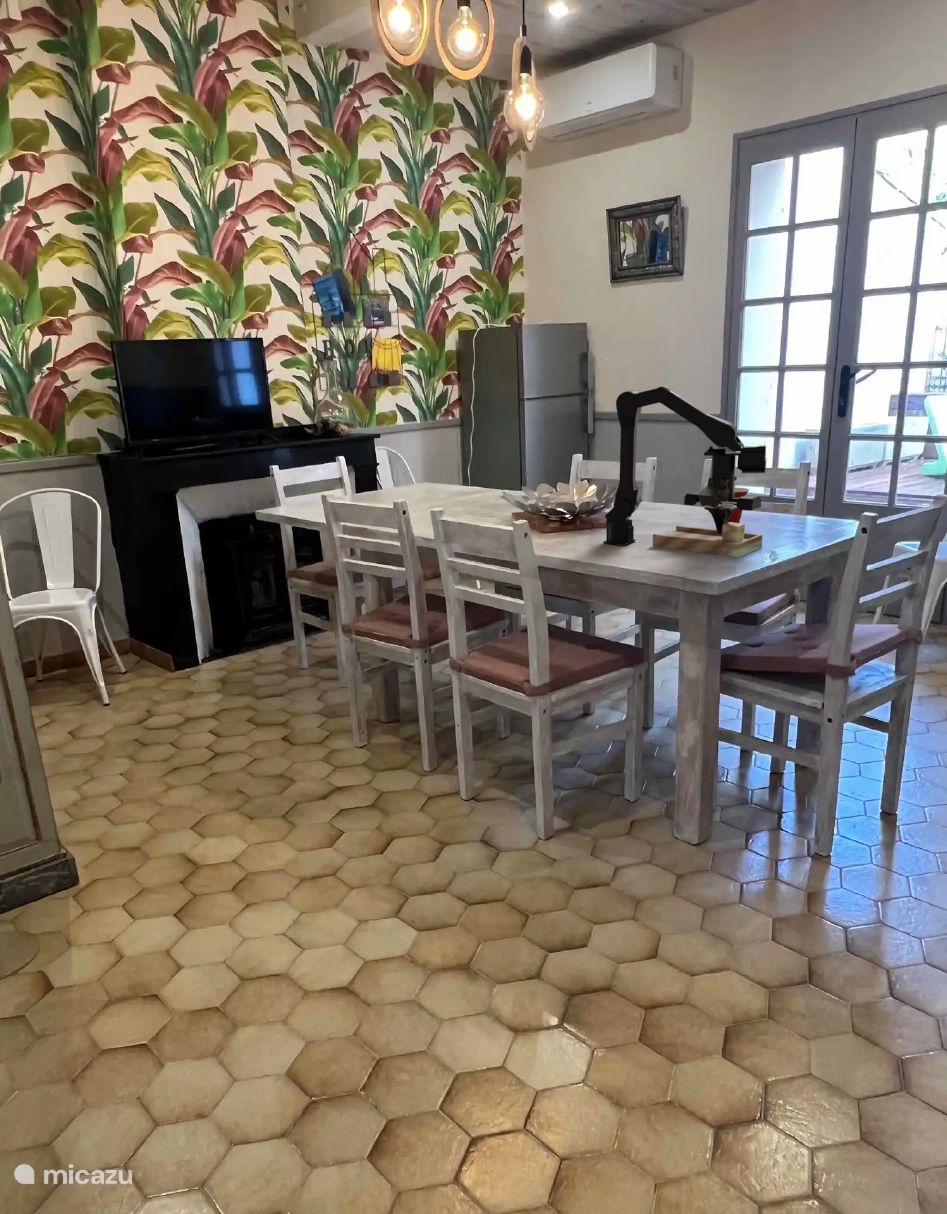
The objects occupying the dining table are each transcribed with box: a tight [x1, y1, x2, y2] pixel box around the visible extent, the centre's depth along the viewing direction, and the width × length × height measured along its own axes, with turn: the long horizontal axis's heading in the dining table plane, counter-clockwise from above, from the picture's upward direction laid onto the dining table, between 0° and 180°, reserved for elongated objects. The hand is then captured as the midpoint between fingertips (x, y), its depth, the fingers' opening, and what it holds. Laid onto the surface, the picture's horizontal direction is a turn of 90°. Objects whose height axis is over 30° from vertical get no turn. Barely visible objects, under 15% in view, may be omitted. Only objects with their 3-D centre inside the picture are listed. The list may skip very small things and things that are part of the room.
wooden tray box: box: [652, 525, 763, 558], centre depth 215 cm, size 24×13×3 cm, turn 48°
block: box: [722, 522, 746, 542], centre depth 212 cm, size 4×4×4 cm
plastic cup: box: [715, 486, 750, 530], centre depth 232 cm, size 11×11×12 cm
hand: (720, 533), depth 215 cm, fingers closed
